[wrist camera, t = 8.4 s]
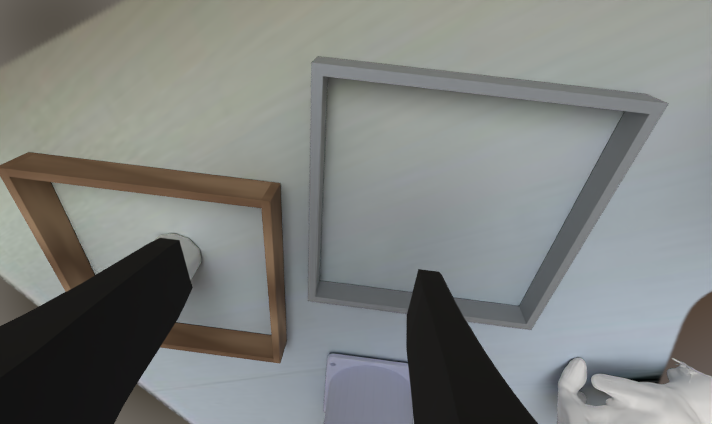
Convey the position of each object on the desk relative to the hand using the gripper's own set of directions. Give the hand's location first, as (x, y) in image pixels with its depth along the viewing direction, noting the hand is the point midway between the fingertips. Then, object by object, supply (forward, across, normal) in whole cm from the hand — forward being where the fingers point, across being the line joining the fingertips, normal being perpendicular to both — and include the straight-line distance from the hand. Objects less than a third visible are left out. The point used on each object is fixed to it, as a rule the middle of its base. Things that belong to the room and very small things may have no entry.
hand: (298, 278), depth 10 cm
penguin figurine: (+10, -23, +16) cm, 30 cm away
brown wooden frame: (+9, +11, +10) cm, 17 cm away
